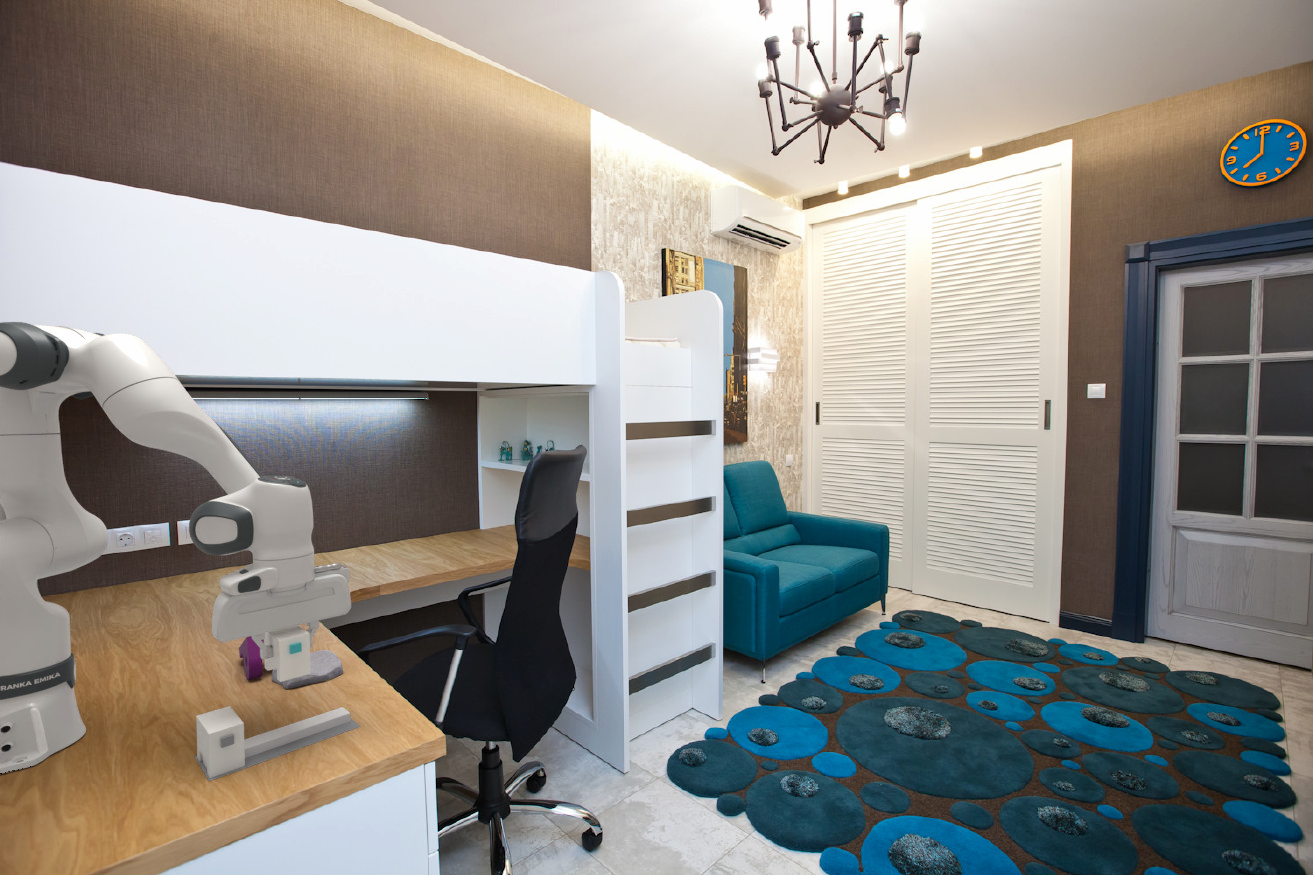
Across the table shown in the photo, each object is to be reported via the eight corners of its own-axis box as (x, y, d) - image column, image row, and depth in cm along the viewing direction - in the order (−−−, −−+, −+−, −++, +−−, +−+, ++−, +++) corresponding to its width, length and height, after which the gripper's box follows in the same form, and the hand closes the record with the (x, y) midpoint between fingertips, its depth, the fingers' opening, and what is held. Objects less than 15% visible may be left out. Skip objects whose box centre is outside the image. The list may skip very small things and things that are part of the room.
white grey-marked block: (210, 779, 91) (209, 735, 91) (197, 757, 98) (196, 715, 97) (245, 767, 95) (244, 724, 94) (230, 746, 101) (229, 705, 101)
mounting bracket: (239, 688, 138) (249, 677, 126) (236, 651, 141) (246, 636, 128) (287, 677, 145) (301, 665, 132) (283, 641, 147) (297, 626, 135)
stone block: (347, 682, 132) (328, 662, 138) (348, 662, 131) (328, 642, 138) (287, 704, 123) (269, 681, 129) (288, 682, 122) (269, 660, 128)
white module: (281, 682, 98) (280, 641, 98) (264, 667, 104) (263, 628, 104) (311, 674, 101) (310, 634, 101) (293, 660, 108) (292, 622, 107)
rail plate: (209, 787, 91) (208, 771, 91) (194, 762, 98) (194, 747, 98) (360, 731, 107) (360, 717, 107) (339, 713, 114) (338, 700, 114)
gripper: (342, 558, 112) (344, 632, 113) (207, 580, 97) (210, 665, 98) (356, 563, 108) (357, 640, 108) (217, 587, 93) (220, 676, 93)
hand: (286, 652), depth 103 cm, fingers closed on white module, 4 cm apart
